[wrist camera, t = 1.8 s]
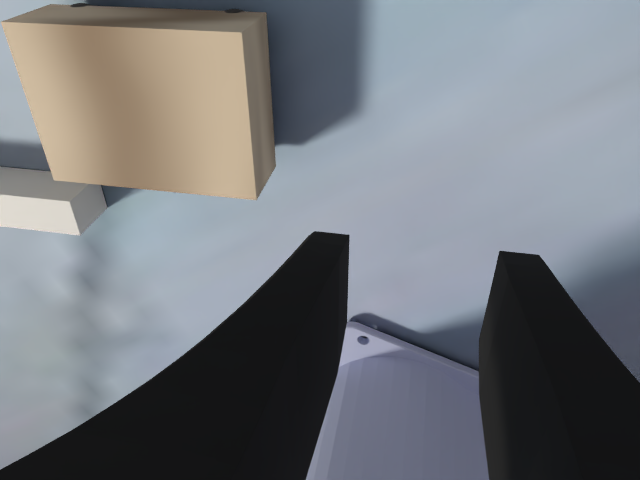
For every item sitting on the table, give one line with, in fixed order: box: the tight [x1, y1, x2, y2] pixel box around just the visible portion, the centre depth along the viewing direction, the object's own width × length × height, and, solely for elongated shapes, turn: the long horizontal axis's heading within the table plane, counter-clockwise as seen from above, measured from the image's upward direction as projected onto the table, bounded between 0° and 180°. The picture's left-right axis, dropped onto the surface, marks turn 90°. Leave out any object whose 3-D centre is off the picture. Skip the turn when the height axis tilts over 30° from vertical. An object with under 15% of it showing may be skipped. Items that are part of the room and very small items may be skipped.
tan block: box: [1, 3, 276, 200], centre depth 17 cm, size 7×5×3 cm
